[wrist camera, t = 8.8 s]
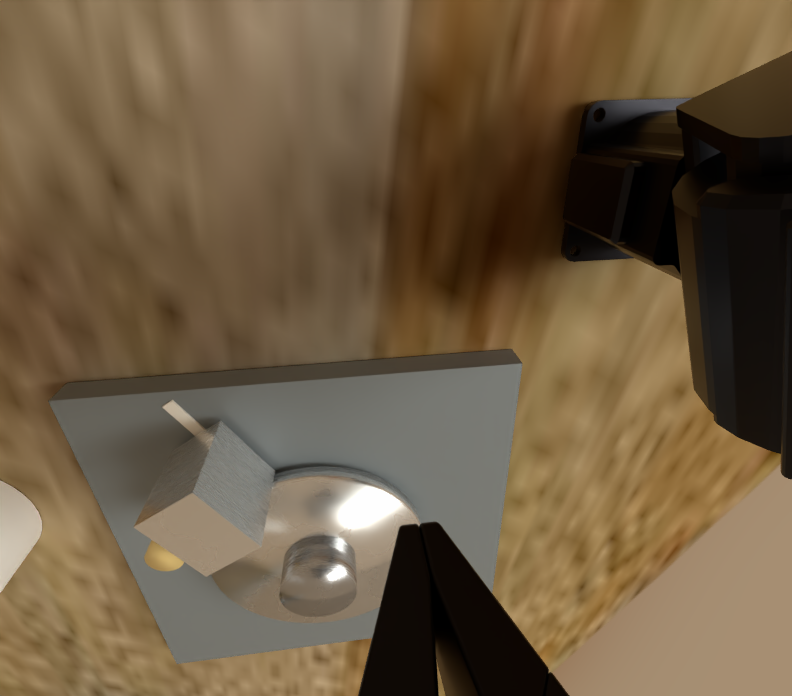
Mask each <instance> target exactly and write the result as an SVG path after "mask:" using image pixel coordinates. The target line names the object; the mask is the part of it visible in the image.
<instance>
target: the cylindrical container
mask: <svg viewBox="0 0 792 696" xmlns="http://www.w3.org/2000/svg"><path fill="white" fill-rule="evenodd" d="M41 532H42V520H41V517H40V515H39V512H38V510H37V509H36V508H35V506H34V505H33V503H32V502H31V501H30V500H29V499H28V498H27V497H26V496H25V495H23V494H22V493H21V492H19V491H18V490H16V489H15V488H14V487H12V486H10V485H8V484H6V483H4V482H3V481H1V480H0V593H1V591H2V590H3V588H4V587H5V586H6V584H7V583H8V581H9V580H10V579H11V577H12V576H13V574H14V573H15V572H16V570H17V569H18V567H19V566H20V565H21V563H22V562H23V560H24V559H25V558H26V556H27V555H28V553H29V552H30V551H31V549H32V548H33V546H34V545H35V544H36V542H37V541H38V539H39V538H40V535H41Z"/></svg>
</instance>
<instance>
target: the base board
mask: <svg viewBox="0 0 792 696" xmlns="http://www.w3.org/2000/svg"><path fill="white" fill-rule="evenodd" d="M521 370H522V362H521V361H520V360H519V358H518V357H517V355H516V354H515V353H514V351H513V350H512V349H507V350H494V351H481V352H467V353H454V354H441V355H428V356H415V357H402V358H389V359H376V360H363V361H349V362H336V363H323V364H310V365H297V366H284V367H271V368H258V369H245V370H231V371H218V372H205V373H192V374H179V375H166V376H153V377H140V378H127V379H114V380H100V381H87V382H74V383H66V384H65V385H64V386H63V387H62V388H61V389H60V390H59V391H58V392H57V393H56V394H55V395H54V396H53V397H52V398H51V399H50V400H49V401H48V402H49V404H50V406H51V408H52V410H53V412H54V414H55V416H56V418H57V420H58V422H59V424H60V426H61V428H62V430H63V432H64V434H65V436H66V439H67V441H68V443H69V445H70V447H71V449H72V451H73V453H74V455H75V457H76V459H77V461H78V463H79V465H80V467H81V469H82V471H83V473H84V475H85V477H86V479H87V481H88V483H89V485H90V488H91V490H92V492H93V494H94V496H95V498H96V500H97V502H98V504H99V506H100V508H101V510H102V512H103V514H104V516H105V518H106V520H107V522H108V524H109V526H110V528H111V530H112V532H113V534H114V536H115V539H116V541H117V543H118V545H119V547H120V549H121V551H122V553H123V555H124V557H125V559H126V561H127V563H128V565H129V567H130V569H131V571H132V573H133V575H134V577H135V579H136V581H137V583H138V585H139V588H140V590H141V592H142V594H143V596H144V598H145V600H146V602H147V604H148V606H149V608H150V610H151V612H152V614H153V616H154V618H155V620H156V622H157V624H158V626H159V628H160V630H161V632H162V634H163V636H164V639H165V641H166V643H167V645H168V647H169V649H170V651H171V653H172V655H173V657H174V659H175V661H176V663H177V664H179V663H187V662H195V661H202V660H210V659H217V658H225V657H232V656H240V655H247V654H255V653H262V652H270V651H277V650H285V649H293V648H300V647H308V646H315V645H323V644H330V643H338V642H345V641H353V640H360V639H368V638H372V637H373V633H374V629H375V624H376V620H377V616H378V612H379V608H380V607H378V608H376V609H374V610H372V611H369V612H367V613H364V614H361V615H358V616H355V617H351V618H347V619H343V620H338V621H332V622H322V623H296V622H287V621H280V620H276V619H272V618H267V617H264V616H261V615H258V614H256V613H253V612H251V611H249V610H247V609H245V608H243V607H241V606H240V605H238V604H236V603H235V602H234V601H232V600H231V599H230V598H228V597H227V596H226V595H225V594H224V593H223V592H222V591H221V590H220V588H219V587H218V586H217V584H216V583H215V581H214V579H213V577H212V575H211V574H210V575H209V576H207V577H206V576H204V575H203V574H201V573H200V572H198V571H197V570H195V569H194V568H192V567H191V566H189V565H188V564H187V563H185V562H184V561H182V560H181V559H179V558H178V557H176V556H175V555H173V554H172V553H170V552H169V551H167V550H166V549H164V548H163V547H161V546H160V545H159V544H157V543H156V542H154V541H153V540H151V539H150V538H148V537H147V536H145V535H144V534H142V533H141V532H139V531H138V530H136V529H135V528H134V525H135V523H136V521H137V519H138V517H139V515H140V513H141V511H142V509H143V507H144V505H145V503H146V501H147V499H148V497H149V495H150V493H151V491H152V489H153V487H154V485H155V483H156V481H157V479H158V477H159V475H160V473H161V471H162V470H163V468H164V466H165V464H166V462H167V460H168V458H169V456H170V454H171V452H172V450H173V449H175V448H177V447H178V446H180V445H182V444H183V443H185V442H186V441H188V440H190V439H191V438H193V437H195V436H196V435H198V434H200V433H201V432H203V431H205V430H206V429H208V428H209V427H211V426H213V425H214V424H216V423H218V422H219V421H222V422H223V423H224V424H225V425H226V426H227V427H228V428H229V429H231V430H232V431H233V432H234V433H235V434H236V435H237V436H238V437H239V438H240V439H241V440H242V441H243V442H245V443H246V444H247V445H248V446H249V447H250V448H251V449H252V450H253V451H254V452H255V453H256V454H257V455H259V456H260V457H261V458H262V459H263V460H264V461H265V462H266V463H267V464H268V465H269V466H270V467H271V468H273V469H274V470H275V474H277V473H280V472H284V471H288V470H292V469H299V468H305V467H320V466H328V467H342V468H348V469H354V470H358V471H362V472H366V473H369V474H372V475H374V476H377V477H379V478H381V479H383V480H385V481H387V482H389V483H391V484H392V485H394V486H395V487H396V488H398V489H399V490H401V491H402V492H403V493H404V494H405V495H406V496H407V497H408V498H409V499H410V501H411V502H412V503H413V505H414V506H415V508H416V510H417V512H418V514H419V516H420V520H421V523H425V522H434V521H436V522H438V523H439V524H440V525H441V526H442V527H443V529H444V530H445V531H446V533H447V534H448V535H449V537H450V538H451V539H452V540H453V542H454V543H455V544H456V546H457V547H458V548H459V550H460V551H461V552H462V554H463V555H464V556H465V558H466V559H467V560H468V562H469V563H470V564H471V566H472V567H473V568H474V570H475V571H476V572H477V574H478V575H479V576H480V578H481V579H482V580H483V582H484V583H485V584H486V586H487V587H488V588H489V590H490V591H491V592H492V589H493V582H494V574H495V567H496V559H497V552H498V544H499V537H500V529H501V521H502V514H503V506H504V499H505V491H506V484H507V476H508V468H509V461H510V453H511V446H512V438H513V431H514V423H515V415H516V408H517V400H518V393H519V385H520V378H521Z"/></svg>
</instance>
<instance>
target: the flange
mask: <svg viewBox="0 0 792 696" xmlns="http://www.w3.org/2000/svg"><path fill="white" fill-rule="evenodd" d="M407 524H418V526H419V525H420V524H421V520H420V516H419V514H418V512H417V510H416V508H415V506H414V505H413V503H412V502H411V501H410V499H409V498H408V497H407V496H406V495H405V494H404V493H403V492H402V491H401V490H399V489H398V488H396V487H395V486H394V485H392V484H391V483H389V482H387V481H385V480H383V479H381V478H379V477H377V476H374V475H372V474H369V473H366V472H362V471H358V470H354V469H348V468H342V467H328V466H320V467H305V468H299V469H292V470H288V471H284V472H280V473H277V474H275V470H274V469H273V468H271V467H270V466H269V465H268V464H267V463H266V462H265V461H264V460H263V459H262V458H261V457H260V456H259V455H257V454H256V453H255V452H254V451H253V450H252V449H251V448H250V447H249V446H248V445H247V444H246V443H245V442H243V441H242V440H241V439H240V438H239V437H238V436H237V435H236V434H235V433H234V432H233V431H232V430H231V429H229V428H228V427H227V426H226V425H225V424H224V423H223V422H222V421H219V422H218V423H216V424H214V425H213V426H211V427H209V428H208V429H206V430H205V431H203V432H201V433H200V434H198V435H196V436H195V437H193V438H191V439H190V440H188V441H186V442H185V443H183V444H182V445H180V446H178V447H177V448H175V449H173V450H172V452H171V454H170V456H169V458H168V460H167V462H166V464H165V466H164V468H163V470H162V471H161V473H160V475H159V477H158V479H157V481H156V483H155V485H154V487H153V489H152V491H151V493H150V495H149V497H148V499H147V501H146V503H145V505H144V507H143V509H142V511H141V513H140V515H139V517H138V519H137V521H136V523H135V525H134V528H135V529H136V530H138V531H139V532H141V533H142V534H144V535H145V536H147V537H148V538H150V539H151V540H153V541H154V542H156V543H157V544H159V545H160V546H161V547H163V548H164V549H166V550H167V551H169V552H170V553H172V554H173V555H175V556H176V557H178V558H179V559H181V560H182V561H184V562H185V563H187V564H188V565H189V566H191V567H192V568H194V569H195V570H197V571H198V572H200V573H201V574H203V575H204V576H206V577H207V576H209V575H210V574H211V575H212V577H213V579H214V581H215V583H216V584H217V586H218V587H219V588H220V590H221V591H222V592H223V593H224V594H225V595H226V596H227V597H228V598H230V599H231V600H232V601H234V602H235V603H236V604H238V605H240V606H241V607H243V608H245V609H247V610H249V611H251V612H253V613H256V614H258V615H261V616H264V617H267V618H272V619H276V620H280V621H287V622H296V623H322V622H332V621H338V620H343V619H347V618H351V617H355V616H358V615H361V614H364V613H367V612H369V611H372V610H374V609H376V608H378V607H380V604H381V600H382V596H383V592H384V587H385V583H386V579H387V575H388V571H389V567H390V563H391V559H392V555H393V550H394V546H395V542H396V538H397V534H398V530H399V527H400V526H401V525H407Z"/></svg>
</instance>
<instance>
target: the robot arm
mask: <svg viewBox="0 0 792 696" xmlns="http://www.w3.org/2000/svg"><path fill="white" fill-rule="evenodd" d="M597 109H599V110H600V117H599V119H598V120H597V121H595V120H594V119H593V114H594V112H595V111H596V110H597ZM563 219H564V220H565V221H566V223H565V229H564V235H563V242H562V248H561V253H562V255H563V257H565V258H566V259H568V260H569V261H573V262H576V261H593V260H610V259H627V258H636V259H638V260H640V261H642V262H644V263H646V264H648V265H650V266H653V267H655V268H657V269H659V270H661V271H663V272H665V273H667V274H669V275H671V276H673V277H675V278H678V279H680V280H682V288H683V298H684V307H685V316H686V325H687V334H688V343H689V352H690V361H691V370H692V378H693V385H694V390H695V392H696V393H697V394H698V396H699V397H700V398H701V400H702V401H703V402H704V404H705V405H706V407H707V408H708V409H709V410H710V411H711V412H712V413H713V414H714V421H715V422H716V423H717V424H718V425H720V426H721V427H723V428H724V429H726V430H727V431H729V432H730V433H732V434H734V435H735V436H737V437H739V438H741V439H743V440H745V441H748V442H750V443H753V444H755V445H757V446H760V447H762V448H765V449H767V450H770V451H773V452H776V453H780V454H781V473H782V475H783V476H784V477H786V478H788V479H792V51H791V52H789V53H787V54H785V55H783V56H781V57H779V58H776V59H774V60H772V61H770V62H768V63H766V64H764V65H762V66H760V67H758V68H755V69H753V70H751V71H749V72H747V73H745V74H743V75H741V76H739V77H736V78H734V79H732V80H730V81H728V82H726V83H724V84H722V85H720V86H718V87H715V88H713V89H711V90H709V91H707V92H705V93H703V94H701V95H699V96H697V97H694V98H685V99H645V100H604V101H594V102H591V103H590V104H589V105H587V107H586V108H585V110H584V112H583V116H582V122H581V128H580V134H579V141H578V147H577V153H576V155H575V157H574V158H573V159H572V161H571V168H570V174H569V180H568V187H567V193H566V200H565V206H564V213H563ZM576 245H577V249H576V251H575V252H574V253H573V254H570V251H571V248H572V247H574V246H576ZM436 659H437V662H436ZM437 663H438V667H439V671H440V675H441V679H442V683H443V687H444V691H445V695H446V696H569V695H568V693H567V692H566V691H565V689H564V688H563V687H562V685H561V684H560V683H559V681H558V680H557V679H556V677H555V676H554V675H553V673H551V672H550V673H549V674H548V672H549V669H548V667H547V666H546V664H545V663H544V662H543V660H542V659H541V658H540V656H539V655H538V654H537V652H536V651H535V650H534V648H533V647H532V646H531V644H530V643H529V642H528V640H527V639H526V638H525V636H524V635H523V634H522V632H521V631H520V630H519V628H518V627H517V626H516V624H515V623H514V622H513V620H512V619H511V618H510V616H509V615H508V614H507V612H506V611H505V610H504V608H503V607H502V606H501V604H500V603H499V602H498V600H497V599H496V598H495V596H494V595H493V594H492V592H491V591H490V590H489V588H488V587H487V586H486V584H485V583H484V582H483V580H482V579H481V578H480V576H479V575H478V574H477V572H476V571H475V570H474V568H473V567H472V566H471V564H470V563H469V562H468V560H467V559H466V558H465V556H464V555H463V554H462V552H461V551H460V550H459V548H458V547H457V546H456V544H455V543H454V542H453V540H452V539H451V538H450V537H449V535H448V534H447V533H446V531H445V530H444V529H443V527H442V526H441V525H440V524H439V523H438V522H436V521H434V522H425V523H421V524H420V525H419V526H418V524H407V525H401V526H400V527H399V530H398V534H397V538H396V542H395V546H394V550H393V555H392V559H391V563H390V567H389V571H388V575H387V579H386V583H385V587H384V592H383V596H382V600H381V604H380V608H379V612H378V616H377V620H376V624H375V629H374V633H373V637H372V641H371V645H370V649H369V653H368V657H367V662H366V666H365V670H364V674H363V678H362V682H361V686H360V690H359V694H358V696H439V695H438V678H437Z"/></svg>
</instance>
